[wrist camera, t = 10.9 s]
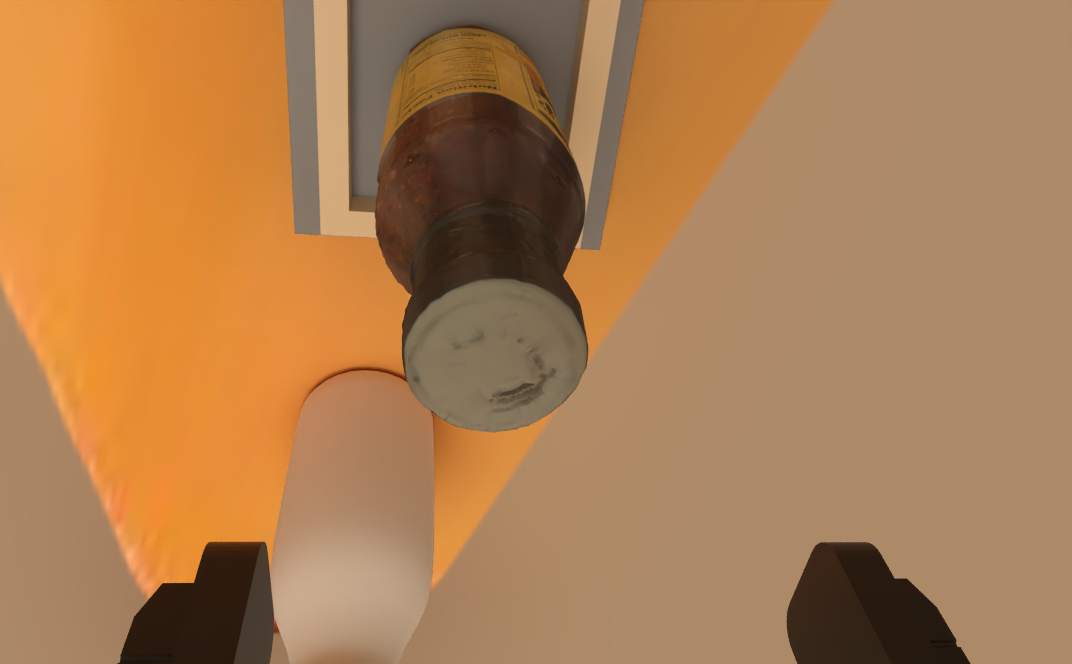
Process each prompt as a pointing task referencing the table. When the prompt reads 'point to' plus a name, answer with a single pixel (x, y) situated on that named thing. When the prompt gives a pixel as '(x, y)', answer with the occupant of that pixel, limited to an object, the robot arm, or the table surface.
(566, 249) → the sauce bottle
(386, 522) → the milk bottle
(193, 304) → the table surface
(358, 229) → the tray
